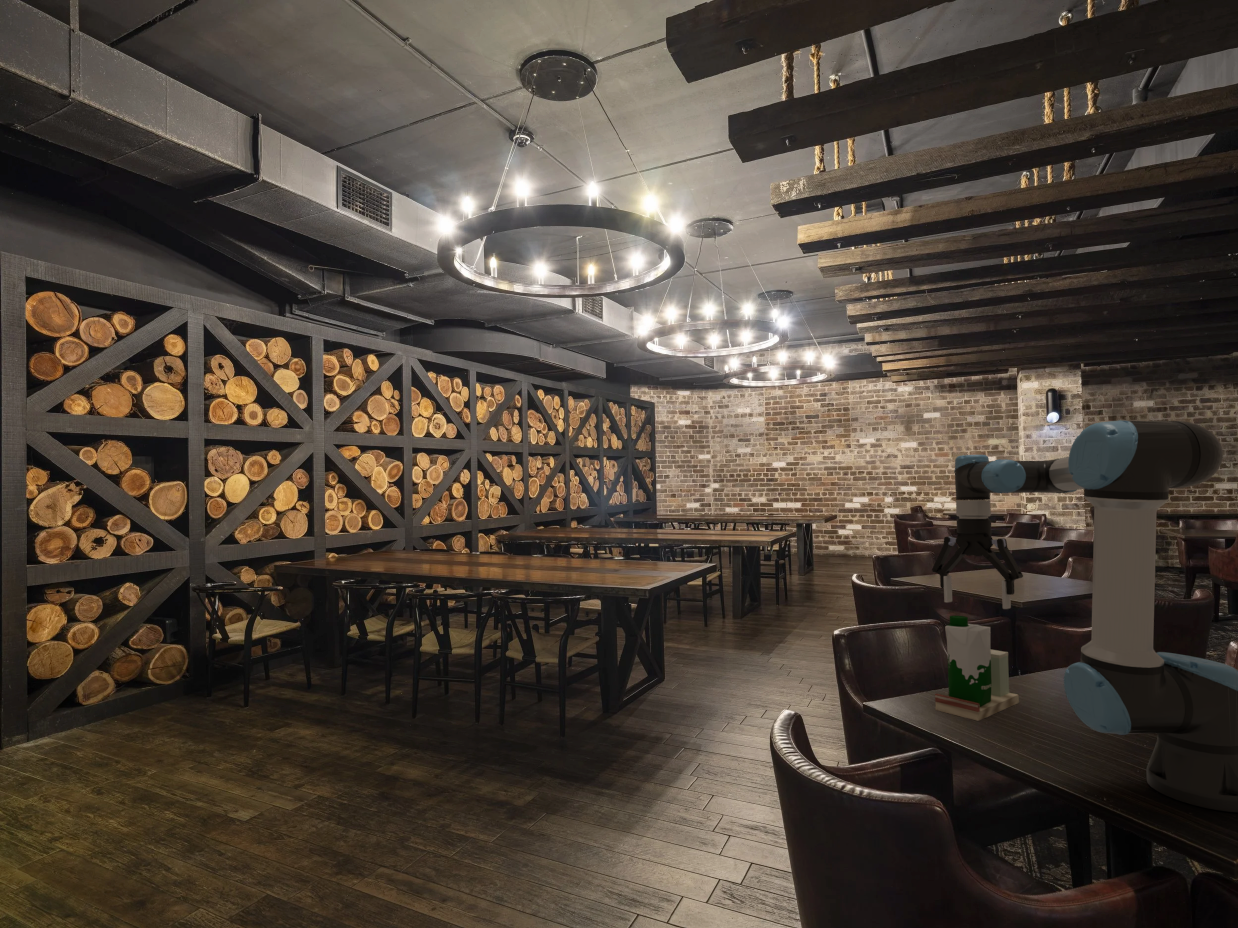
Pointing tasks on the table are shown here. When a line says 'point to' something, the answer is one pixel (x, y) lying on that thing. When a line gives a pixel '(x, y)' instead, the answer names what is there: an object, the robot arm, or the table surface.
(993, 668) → the tea tin
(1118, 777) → the table surface
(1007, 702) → the shelf board
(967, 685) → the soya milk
